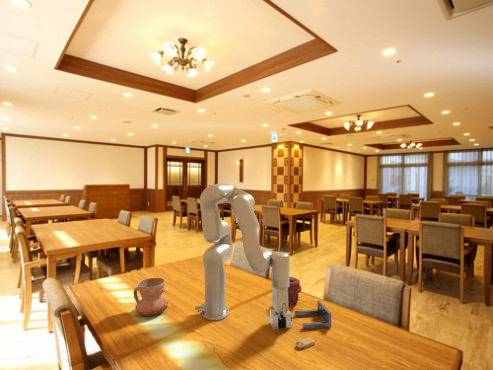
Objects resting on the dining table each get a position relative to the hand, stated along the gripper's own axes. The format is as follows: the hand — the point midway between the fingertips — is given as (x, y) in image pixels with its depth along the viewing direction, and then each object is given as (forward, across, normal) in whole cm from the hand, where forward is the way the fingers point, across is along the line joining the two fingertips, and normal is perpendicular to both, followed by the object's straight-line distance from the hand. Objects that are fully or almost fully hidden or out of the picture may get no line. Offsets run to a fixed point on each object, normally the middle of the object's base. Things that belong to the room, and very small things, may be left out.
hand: (280, 323), depth 113 cm
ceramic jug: (+1, -21, -57) cm, 61 cm away
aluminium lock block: (+1, 0, 0) cm, 1 cm away
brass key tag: (+1, +14, +6) cm, 15 cm away
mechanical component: (+1, -19, +11) cm, 22 cm away
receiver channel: (+1, -1, +14) cm, 14 cm away
